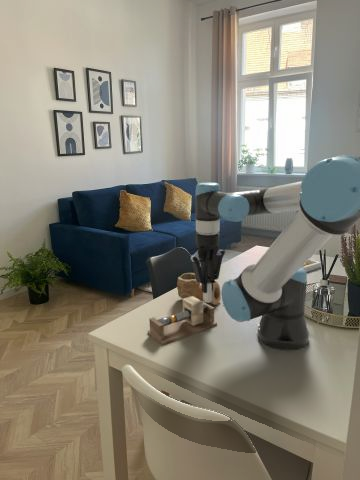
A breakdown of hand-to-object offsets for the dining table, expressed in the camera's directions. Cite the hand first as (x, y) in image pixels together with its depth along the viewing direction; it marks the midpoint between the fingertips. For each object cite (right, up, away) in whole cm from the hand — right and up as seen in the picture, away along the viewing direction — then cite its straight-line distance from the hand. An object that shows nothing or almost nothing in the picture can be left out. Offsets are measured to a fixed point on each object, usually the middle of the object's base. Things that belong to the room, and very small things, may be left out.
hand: (207, 300), depth 121 cm
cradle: (-8, -9, -4) cm, 12 cm away
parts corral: (+46, +8, +53) cm, 71 cm away
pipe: (-2, -3, +16) cm, 17 cm away
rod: (-8, -5, -5) cm, 11 cm away
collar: (-5, -6, -2) cm, 8 cm away
